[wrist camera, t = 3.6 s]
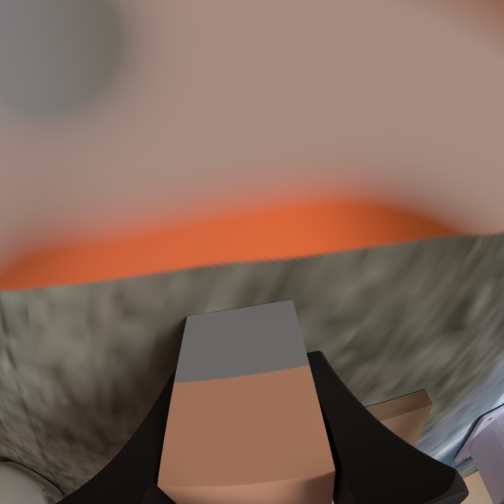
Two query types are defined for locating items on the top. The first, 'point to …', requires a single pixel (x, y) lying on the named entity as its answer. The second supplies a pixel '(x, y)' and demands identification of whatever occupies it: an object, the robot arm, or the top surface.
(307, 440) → the square peg
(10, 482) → the teacup
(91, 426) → the top surface
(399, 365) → the top surface
